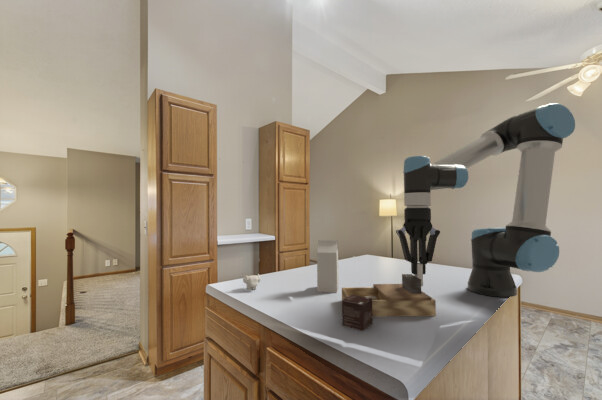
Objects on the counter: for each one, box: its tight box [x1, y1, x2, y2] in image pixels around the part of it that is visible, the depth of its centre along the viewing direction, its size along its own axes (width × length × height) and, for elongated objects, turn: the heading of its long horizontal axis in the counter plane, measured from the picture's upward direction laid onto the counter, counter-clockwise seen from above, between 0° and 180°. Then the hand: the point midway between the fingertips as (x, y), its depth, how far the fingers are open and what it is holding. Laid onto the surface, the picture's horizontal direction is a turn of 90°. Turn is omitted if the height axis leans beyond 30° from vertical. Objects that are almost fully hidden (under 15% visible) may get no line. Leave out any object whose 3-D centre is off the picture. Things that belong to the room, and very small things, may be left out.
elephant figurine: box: [242, 273, 261, 291], centre depth 111 cm, size 7×8×6 cm
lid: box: [372, 273, 432, 301], centre depth 87 cm, size 12×15×5 cm
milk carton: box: [316, 239, 339, 293], centre depth 107 cm, size 7×7×19 cm
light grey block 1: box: [365, 296, 378, 300], centre depth 90 cm, size 3×3×2 cm
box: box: [341, 295, 373, 332], centre depth 74 cm, size 6×6×7 cm
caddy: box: [341, 286, 437, 317], centre depth 87 cm, size 24×14×5 cm, turn 91°
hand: (418, 285), depth 87 cm, fingers closed
